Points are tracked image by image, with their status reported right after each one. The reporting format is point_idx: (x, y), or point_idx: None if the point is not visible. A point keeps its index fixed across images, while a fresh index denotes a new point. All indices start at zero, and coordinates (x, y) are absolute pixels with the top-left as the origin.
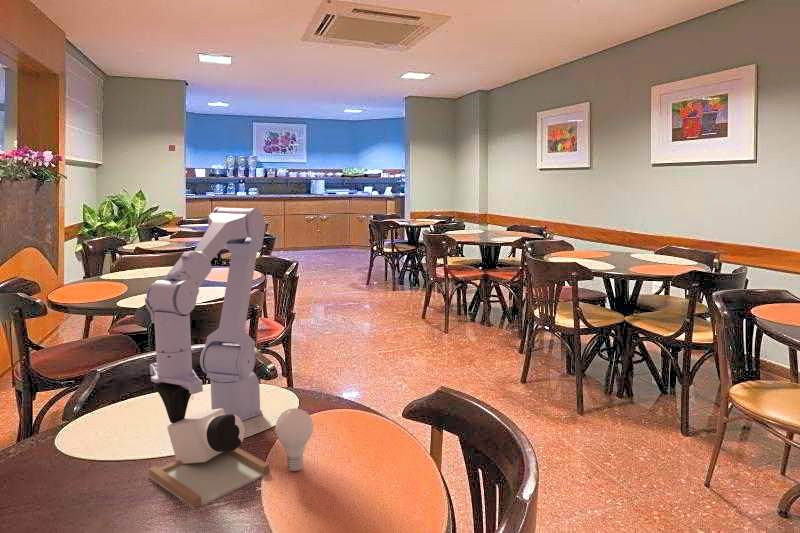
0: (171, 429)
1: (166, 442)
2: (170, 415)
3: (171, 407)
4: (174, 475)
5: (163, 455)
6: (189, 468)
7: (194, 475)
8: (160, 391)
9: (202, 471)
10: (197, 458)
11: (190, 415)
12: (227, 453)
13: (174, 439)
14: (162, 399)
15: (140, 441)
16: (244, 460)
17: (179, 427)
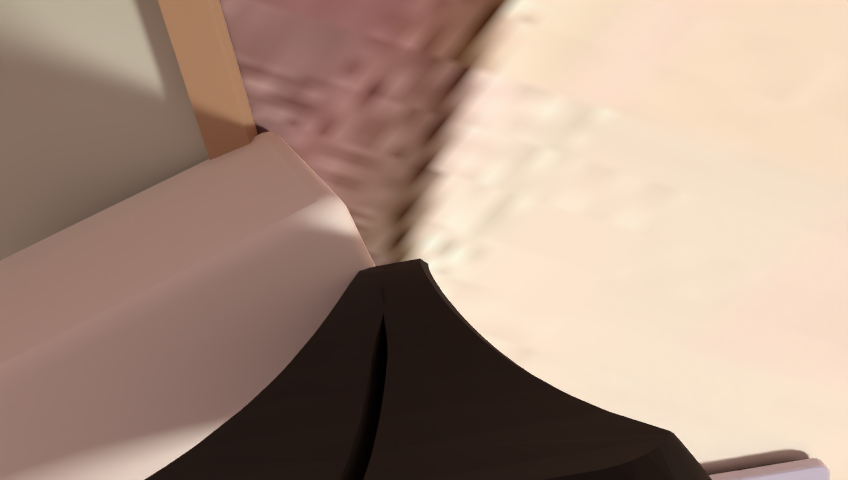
0: (260, 217)
1: (661, 171)
2: (360, 301)
3: (271, 382)
4: (83, 56)
5: (478, 93)
6: (132, 172)
7: (17, 168)
8: (401, 478)
9: (45, 226)
10: (35, 247)
11: None
12: None
13: (245, 192)
14: (510, 370)
15: (830, 20)
16: None
17: (124, 289)
